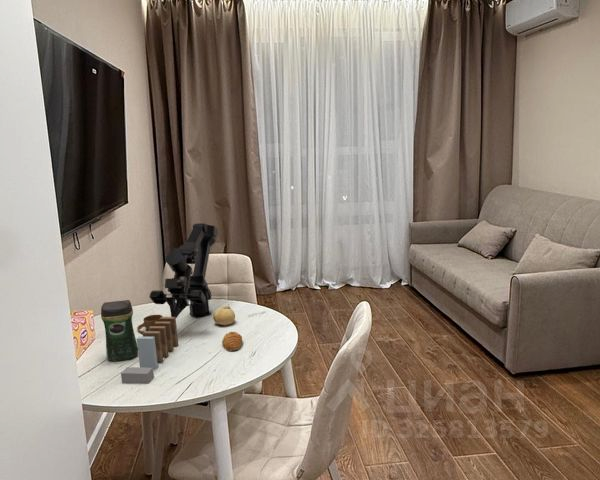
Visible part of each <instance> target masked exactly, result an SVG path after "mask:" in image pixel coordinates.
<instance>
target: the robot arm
mask: <svg viewBox="0 0 600 480" xmlns="http://www.w3.org/2000/svg"><path fill="white" fill-rule="evenodd" d="M218 235H219V230H218V227H216V226H215V225H210V224H207V223H203V222H201V223H194V224H192V229H191V232H190V234H189V236H188V237H187V240H186V241H185V243H184V244H182V245H179V247H178V248H173V249H172V250H173V251H171V252H169V253H168V254H167V255H166V257H165V262H166V264H167V265H168V266H169V268H170V269H171V271H172V272H173V273H174V276H173V277H172V278H165V280H164V289H167V292H168V293H165V292H164V291H163V290H162V289H161V290H155V289H154V290H151V291H150V292H149V299H150V300H151V301H152V302H153V303H154V304H155V305H164V304H166V303H167V305H168V306H169V310H170V311H169V312H170V317H176V319H177V318H178V317H179V315H180V314H181V313H182V312H183V311H184V309H185V308H187V307H189V315H190V316H192V317H194V318H195V319H198V318H202V317H205V316H209V315H212V312H210V306H209V301H210V300H212V291H211V289H210V288H209V285H208V283H207V280H206V274H207V273H206V272H207V267H208V262H209V258H210V253H211V252H210V251H211V247H212V246H213V245H214V244H215V243H216V241H217V237H218ZM191 265H194V266H193V267H194V268H192V266H191Z"/></svg>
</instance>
